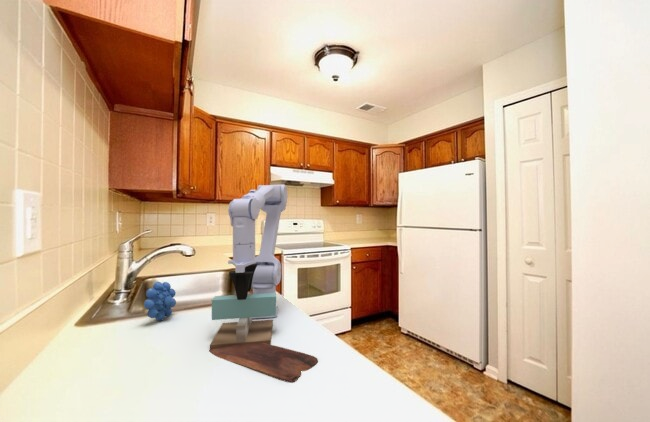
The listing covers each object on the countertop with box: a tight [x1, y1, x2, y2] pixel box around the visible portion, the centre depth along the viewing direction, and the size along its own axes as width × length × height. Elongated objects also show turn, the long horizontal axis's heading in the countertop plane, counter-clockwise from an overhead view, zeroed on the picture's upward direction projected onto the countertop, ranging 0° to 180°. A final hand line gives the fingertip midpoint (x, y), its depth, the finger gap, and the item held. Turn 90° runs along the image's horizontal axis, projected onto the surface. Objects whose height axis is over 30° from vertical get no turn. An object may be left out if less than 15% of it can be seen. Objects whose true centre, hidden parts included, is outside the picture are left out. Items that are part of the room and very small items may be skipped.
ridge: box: [209, 317, 274, 350], centre depth 71 cm, size 14×14×5 cm
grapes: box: [143, 281, 177, 322], centre depth 82 cm, size 12×7×12 cm, turn 170°
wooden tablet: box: [208, 343, 319, 383], centre depth 60 cm, size 26×2×10 cm
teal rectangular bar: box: [211, 292, 277, 321], centre depth 71 cm, size 16×4×5 cm, turn 99°
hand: (244, 295), depth 71 cm, fingers open, 7 cm apart
